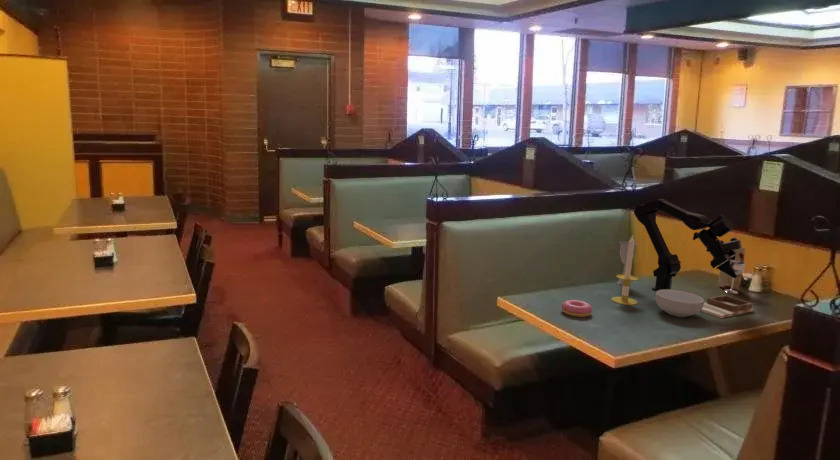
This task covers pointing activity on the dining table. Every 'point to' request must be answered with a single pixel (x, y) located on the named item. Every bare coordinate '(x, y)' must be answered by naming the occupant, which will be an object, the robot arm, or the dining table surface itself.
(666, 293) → the cereal bowl
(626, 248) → the chalice
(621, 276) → the candle
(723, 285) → the food model
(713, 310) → the brown wooden tray
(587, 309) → the doughnut
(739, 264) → the wineglass
